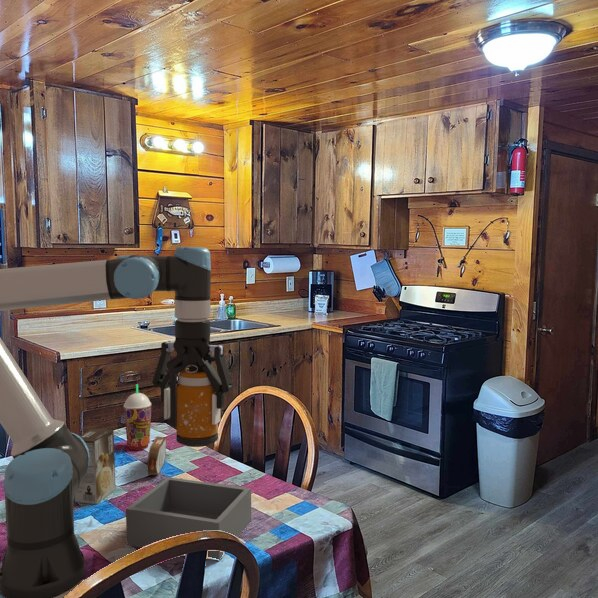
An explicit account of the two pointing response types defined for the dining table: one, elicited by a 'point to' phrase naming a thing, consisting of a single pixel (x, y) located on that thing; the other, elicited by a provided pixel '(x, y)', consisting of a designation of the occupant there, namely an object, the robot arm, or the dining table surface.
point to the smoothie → (137, 420)
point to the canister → (191, 403)
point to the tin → (156, 456)
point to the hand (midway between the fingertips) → (192, 420)
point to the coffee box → (98, 467)
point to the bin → (187, 511)
